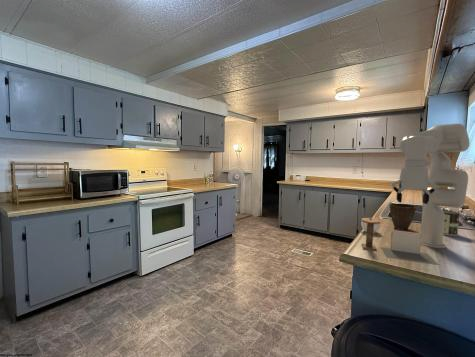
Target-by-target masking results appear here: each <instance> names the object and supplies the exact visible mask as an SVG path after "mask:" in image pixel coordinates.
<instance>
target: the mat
mask: <svg viewBox="0 0 475 357" xmlns="http://www.w3.org/2000/svg"><path fill="white" fill-rule="evenodd" d="M380 249H381V250H382V252H383V254H384V255H385V257H386V258H388V259H396V260H403V261H409V262H416V263H420V264H430V265H437V266H440V264H439V263H438V262H437V261H436V260H435V259H434V258H433V257H432V256H430V254H429V253H427V252H420V254H415V253H407V252H400V251H393V250H390V247H382V246H380Z"/></svg>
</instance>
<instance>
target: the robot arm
mask: <svg viewBox="0 0 475 357" xmlns="http://www.w3.org/2000/svg"><path fill="white" fill-rule="evenodd" d="M470 144H471V143H470V137H469V133H468V131H467V128H466V127H465V125H464V124H462V123H449V124H439V125H438V124H437V125H434V126H432V127H430V128H429V129H427V130H425V131H420V132H416V133H412V134H408V135H406V136H404V137H403V138H402V140H400V143H399V150H400V152H401V153H403V154H405V156H404V166H402V167H401V170H400V174H399V179H397V180H395V181H392V182H390V186H391V187H392V189H393V190H394V191H395V192H396V201H397V202H398V203H402V200H403V193H402V192H403V191H404V190H408V191H409V190H410V191H411V190H412V191H421V202H422V211H421V213H422V214H421V222H420V232H419V233H420V234H421V243H420V246H421V245H422V246H426V247H428V248H435V249H444V248H445V249H446V247H447V245H446V244H445V243H444V242H443V238H444V234H443V229H444V218H445V214H444V212H443V209H442V208H441V207H447V208H453V209H455V208H456V209H460V208H462V207H463V206H464V205H465V201H466V196H467V189H468V183H469V175H468V172H467V171H466V170H463V169H453V168H452V159H451V158H450V157H449V156H448V155H447V154H445V153H463V152H465V151H467V150H468V149H469V147H470ZM428 155H429V157H430V160H431V161H428V160H427V158H428ZM427 166H430V168H429V169H428V167H427ZM451 168H452V169H451ZM397 185H398V187H397ZM447 187H448V188H447Z"/></svg>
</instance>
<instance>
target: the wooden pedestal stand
mask: <svg viewBox="0 0 475 357" xmlns="http://www.w3.org/2000/svg"><path fill="white" fill-rule="evenodd" d="M373 230H374V222H367V232H366V236H365V237H366V238H365V242H364V243H362V242H361V247H362V249H363V250H367V251H375V252H377V249H378V248H377V246H376V245H375V244H373V243H374V241H373V240H374V233H373Z"/></svg>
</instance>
